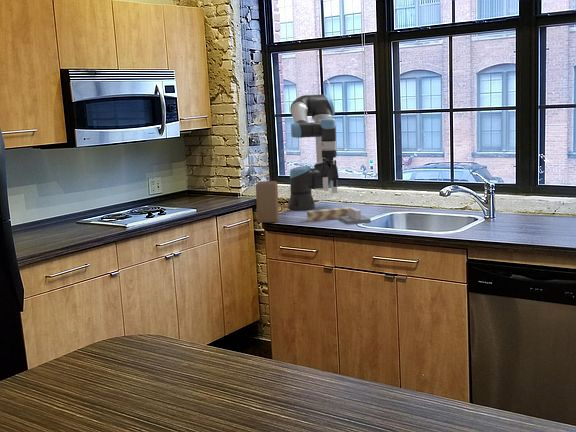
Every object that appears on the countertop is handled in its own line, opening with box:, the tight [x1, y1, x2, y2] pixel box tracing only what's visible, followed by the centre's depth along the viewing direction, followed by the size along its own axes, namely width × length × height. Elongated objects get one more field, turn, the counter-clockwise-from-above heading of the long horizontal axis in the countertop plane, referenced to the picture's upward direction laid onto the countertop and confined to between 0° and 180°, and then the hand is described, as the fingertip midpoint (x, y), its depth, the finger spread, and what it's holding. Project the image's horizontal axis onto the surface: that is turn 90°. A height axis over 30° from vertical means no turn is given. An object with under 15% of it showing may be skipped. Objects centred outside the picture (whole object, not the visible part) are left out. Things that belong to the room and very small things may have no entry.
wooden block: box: [255, 180, 280, 224], centre depth 342 cm, size 10×10×20 cm
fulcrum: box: [338, 206, 372, 225], centre depth 336 cm, size 12×12×6 cm
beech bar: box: [306, 206, 352, 222], centre depth 344 cm, size 24×4×5 cm, turn 108°
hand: (330, 191), depth 341 cm, fingers open, 13 cm apart
